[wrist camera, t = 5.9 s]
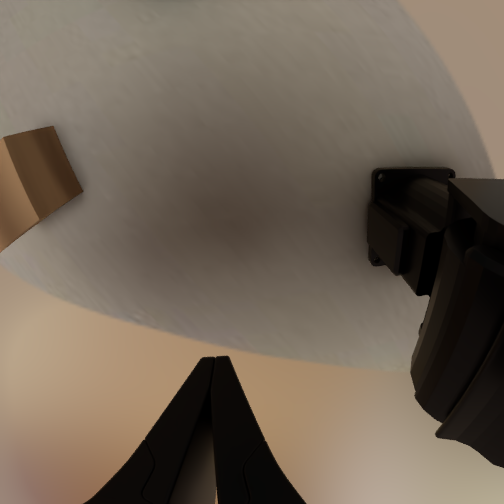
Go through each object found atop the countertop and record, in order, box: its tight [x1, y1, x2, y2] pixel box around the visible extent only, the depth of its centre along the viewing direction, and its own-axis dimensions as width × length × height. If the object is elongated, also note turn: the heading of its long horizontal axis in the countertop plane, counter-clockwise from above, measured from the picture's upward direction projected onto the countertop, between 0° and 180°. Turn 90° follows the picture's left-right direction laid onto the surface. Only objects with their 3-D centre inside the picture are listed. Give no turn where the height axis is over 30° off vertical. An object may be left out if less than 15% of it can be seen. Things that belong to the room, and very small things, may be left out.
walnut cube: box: [0, 126, 83, 252], centre depth 13 cm, size 5×5×5 cm
